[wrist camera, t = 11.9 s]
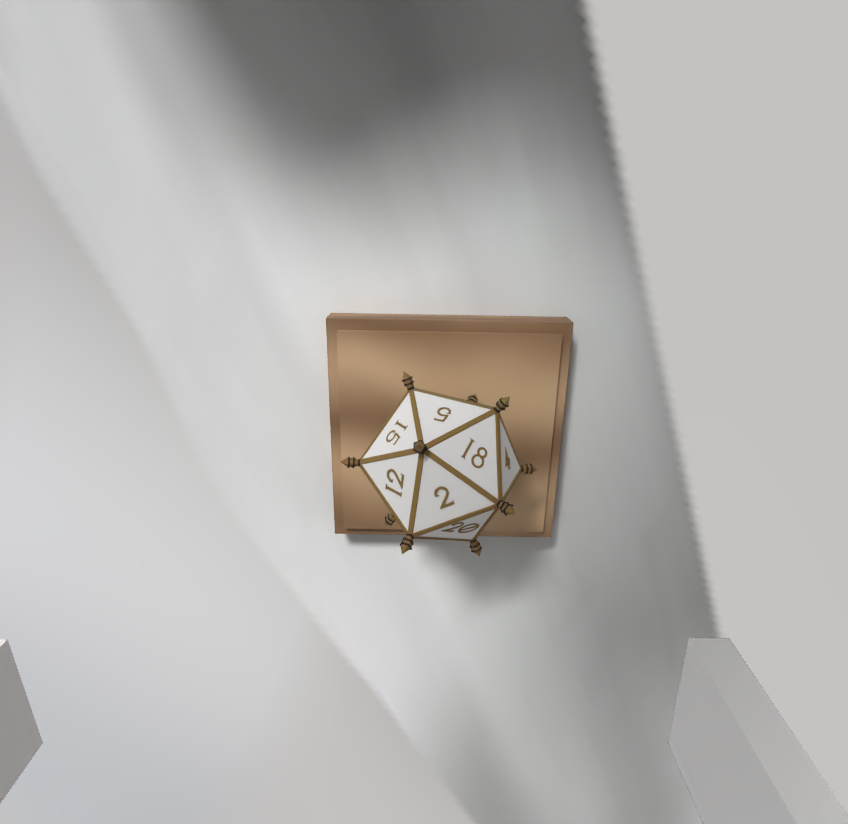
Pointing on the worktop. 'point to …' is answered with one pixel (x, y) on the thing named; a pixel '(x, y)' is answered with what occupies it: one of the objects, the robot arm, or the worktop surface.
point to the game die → (442, 466)
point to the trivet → (457, 377)
